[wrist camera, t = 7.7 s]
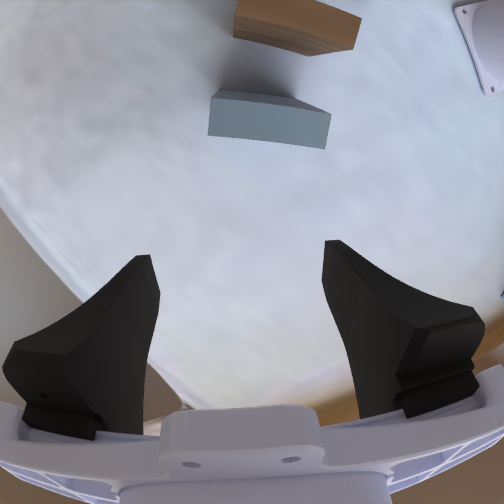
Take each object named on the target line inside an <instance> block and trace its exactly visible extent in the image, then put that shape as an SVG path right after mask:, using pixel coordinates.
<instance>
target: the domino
mask: <svg viewBox="0 0 504 504" xmlns="http://www.w3.org/2000/svg"><path fill="white" fill-rule="evenodd" d="M361 20H362V18H360V17H357V16H355V15H353V14H350V13H348V12H345V11H343V10H340V9H337V8H335V7H332V6H329V5H326V4H324V3H321V2H318V1H315V0H239V2H238V5H237V8H236V12H235V17H234V37H235V38H240V39H245V40H249V41H254V42H258V43H262V44H266V45H270V46H274V47H278V48H281V49H285V50H289V51H292V52H296V53H299V54H302V55H305V56H309V57H310V56H315V55H320V54H326V53H332V52H338V51H345V50H352V49H353V48H354V45H355V41H356V38H357V34H358V31H359V27H360V24H361Z"/></svg>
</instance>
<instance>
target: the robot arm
mask: <svg viewBox="0 0 504 504" xmlns="http://www.w3.org/2000/svg"><path fill="white" fill-rule="evenodd" d="M463 11H464V13H463ZM454 13H455V15H456V18H457V20H458V22H459V24H460V27H461V29H462V31H463V34H464V36H465V39H466V41H467V44H468V47H469V49H470V52H471V55H472V57H473V60H474V63H475V66H476V69H477V72H478V75H479V79H480V82H481V85H482V89H483V92H484V94H485V95H486V96H492V95H494V94H496V93H498V92H500V91H502V90H504V0H487V1H482V2H477V3H472V4H467V5H463V6H459V7H455V8H454ZM491 88H492V90H491ZM322 284H323V288H324V292H325V296H326V300H327V303H328V305H329V308H330V310H331V313H332V315H333V318H334V320H335V322H336V325H337V327H338V330H339V332H340V335H341V337H342V340H343V343H344V346H345V349H346V352H347V356H348V360H349V364H350V368H351V372H352V377H353V381H354V386H355V391H356V397H357V402H358V408H359V415H360V420H355V421H350V422H345V423H340V424H335V425H329V426H323V427H320V425H319V421H318V417H317V414H316V412H315V410H312V409H310V408H307V407H304V406H302V405H286V404H280V405H271V406H260V407H247V408H231V409H204V410H186V411H178V412H174V413H172V414H170V415H169V416H167V417H166V418H164V419H162V423H161V433H160V436H147V435H143V398H144V382H145V371H146V363H147V358H148V353H149V349H150V345H151V340H152V336H153V332H154V328H155V324H156V320H157V316H158V311H159V302H160V290H159V286H158V283H157V279H156V276H155V272H154V268H153V265H152V261H151V257H150V255H138V256H135V257H134V258H133V259H132V260H131V261H130V262H129V263H127V264H126V265H125V266H124V267H123V268H122V269H121V270H120V271H119V272H118V273H117V274H116V275H115V276H114V277H113V278H112V279H111V280H110V281H109V282H108V283H107V284H106V285H104V286H103V287H102V288H101V289H100V290H99V291H98V292H97V293H96V294H95V295H93V296H92V297H91V298H90V299H89V300H87V301H86V302H85V303H83V304H82V305H81V306H80V307H78V308H77V309H75V310H74V311H73V312H71V313H69V314H68V315H66V316H65V317H63V318H62V319H60V320H59V321H57V322H55V323H54V324H52V325H50V326H48V327H47V328H44V329H42V330H41V331H39V332H36V333H35V334H32V335H30V336H27V337H25V338H23V339H20V340H18V341H15V342H14V344H13V346H12V348H11V350H10V352H9V354H8V356H7V358H6V360H5V362H4V364H3V366H2V367H3V373H4V375H5V377H6V379H7V380H8V382H9V383H10V384H11V386H12V387H13V388H14V389H15V390H16V391H17V392H18V394H19V395H20V396H21V397H22V398H23V399H24V400H25V401H26V402H27V405H26V407H25V410H24V409H23V408H21V407H20V406H17V405H14V404H10V403H6V402H2V401H0V466H1V467H2V468H4V469H5V470H7V471H8V472H10V473H11V474H13V475H14V476H16V477H18V478H19V479H21V480H24V481H26V482H29V483H31V484H34V485H37V486H39V487H43V488H45V489H48V490H51V491H53V492H56V493H59V494H62V495H65V496H68V497H71V498H74V499H77V500H80V501H84V502H87V503H91V504H392V501H391V497H390V494H391V493H393V492H396V491H399V490H401V489H404V488H406V487H409V486H411V485H414V484H416V483H419V482H421V481H423V480H425V479H427V478H430V477H432V476H434V475H437V474H439V473H441V472H443V471H445V470H447V469H449V468H451V467H453V466H455V465H457V464H459V463H461V462H463V461H465V460H467V459H469V458H471V457H472V456H474V455H476V454H478V453H480V452H482V451H484V450H485V449H487V448H489V447H491V446H493V445H494V444H495V443H496V442H498V441H499V440H500V439H501V438H502V437H503V436H504V368H503V367H502V365H501V364H499V365H496V366H494V367H492V368H489V369H487V370H484V371H482V372H480V373H479V374H478V375H477V376H474V374H473V373H472V371H471V370H473V369H474V364H473V362H472V360H471V358H472V356H473V355H474V353H475V351H476V350H477V348H478V346H479V344H480V343H481V341H482V339H483V336H484V332H485V324H484V322H483V321H482V319H481V318H480V316H479V315H478V314H477V312H476V311H475V310H474V308H473V307H470V306H466V305H462V304H458V303H453V302H450V301H447V300H444V299H441V298H437V297H435V296H432V295H429V294H427V293H424V292H422V291H420V290H418V289H415V288H413V287H411V286H409V285H407V284H405V283H403V282H401V281H399V280H398V279H396V278H394V277H392V276H391V275H389V274H387V273H386V272H384V271H383V270H381V269H380V268H378V267H377V266H375V265H374V264H372V263H371V262H369V261H368V260H367V259H365V258H364V257H362V256H361V255H360V254H358V253H357V252H356V251H354V250H353V249H352V248H350V247H349V246H348V245H346V244H345V243H343V242H342V241H340V240H329V241H325V248H324V260H323V271H322Z"/></svg>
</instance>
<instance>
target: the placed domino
mask: <svg viewBox="0 0 504 504" xmlns="http://www.w3.org/2000/svg"><path fill="white" fill-rule="evenodd" d="M330 119H331V114H330V113H328V112H325V111H323V110H321V109H319V108H316V107H314V106H312V105H309V104H307V103H305V102H302V101H300V100H298V99H295V98H289V97H282V96H275V95H268V94H260V93H251V92H242V91H231V90H218V91H217V92H216V93H215V95H214V96H213V97H212V98H211V106H210V116H209V127H208V136H220V137H232V138H242V139H252V140H261V141H270V142H278V143H286V144H293V145H300V146H307V147H313V148H320V149H325V145H326V140H327V135H328V130H329V125H330Z"/></svg>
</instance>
